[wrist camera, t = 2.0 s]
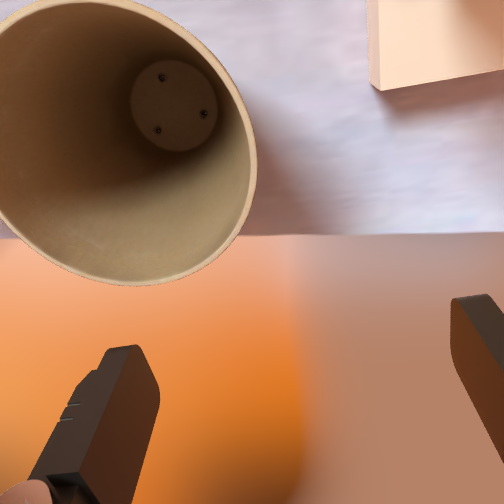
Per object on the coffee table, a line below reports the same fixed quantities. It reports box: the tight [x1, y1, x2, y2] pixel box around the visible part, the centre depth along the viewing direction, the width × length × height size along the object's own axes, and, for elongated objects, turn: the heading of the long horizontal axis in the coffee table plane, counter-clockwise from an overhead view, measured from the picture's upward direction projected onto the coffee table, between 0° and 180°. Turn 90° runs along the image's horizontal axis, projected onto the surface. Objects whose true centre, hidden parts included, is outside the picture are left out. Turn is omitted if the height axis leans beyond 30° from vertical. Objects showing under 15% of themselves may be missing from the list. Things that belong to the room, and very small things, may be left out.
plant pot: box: [0, 0, 258, 286], centre depth 28 cm, size 15×15×16 cm
